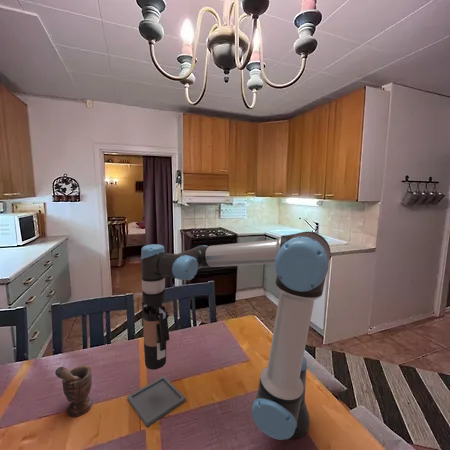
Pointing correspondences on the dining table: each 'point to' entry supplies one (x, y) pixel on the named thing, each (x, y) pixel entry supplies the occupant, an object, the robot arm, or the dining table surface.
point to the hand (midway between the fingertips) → (155, 352)
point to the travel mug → (152, 340)
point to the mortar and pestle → (76, 388)
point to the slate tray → (156, 400)
